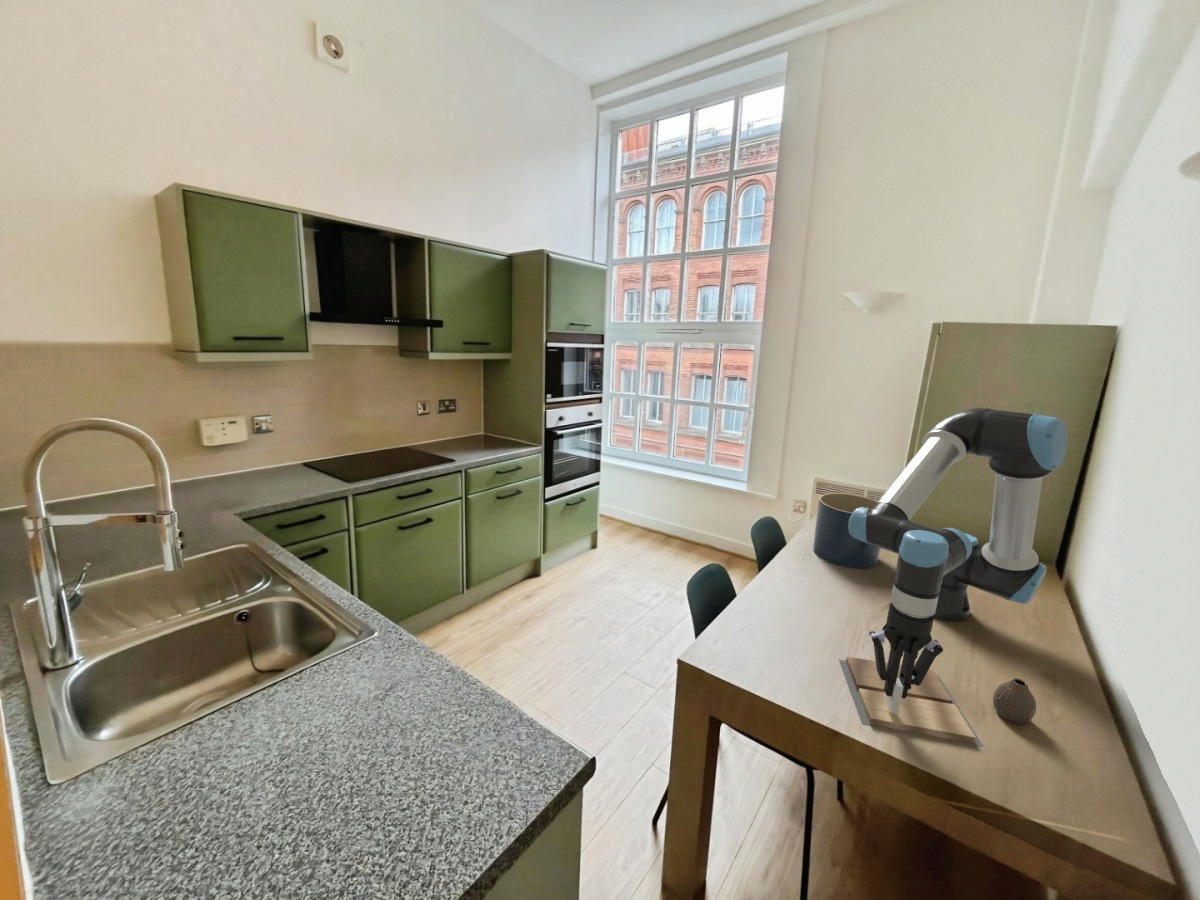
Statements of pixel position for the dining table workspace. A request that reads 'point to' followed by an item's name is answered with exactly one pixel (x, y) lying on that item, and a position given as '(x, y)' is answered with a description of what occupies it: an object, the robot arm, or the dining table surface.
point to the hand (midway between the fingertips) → (891, 708)
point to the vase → (1015, 701)
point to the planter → (842, 532)
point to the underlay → (866, 722)
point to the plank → (917, 716)
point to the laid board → (869, 678)
